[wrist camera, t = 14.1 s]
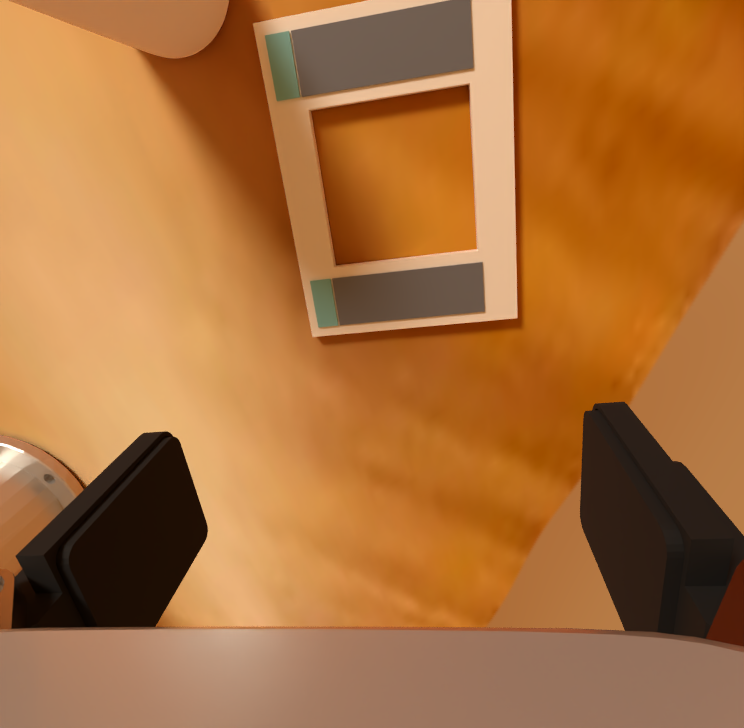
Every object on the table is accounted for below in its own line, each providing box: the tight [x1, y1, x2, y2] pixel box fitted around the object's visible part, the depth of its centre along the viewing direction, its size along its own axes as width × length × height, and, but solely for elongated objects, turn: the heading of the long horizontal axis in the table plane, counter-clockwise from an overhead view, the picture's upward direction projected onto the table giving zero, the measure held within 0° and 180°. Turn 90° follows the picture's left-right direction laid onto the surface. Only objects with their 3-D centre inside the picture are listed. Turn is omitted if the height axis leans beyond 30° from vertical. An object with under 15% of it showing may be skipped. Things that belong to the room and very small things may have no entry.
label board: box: [253, 0, 518, 337], centre depth 25 cm, size 16×12×1 cm
